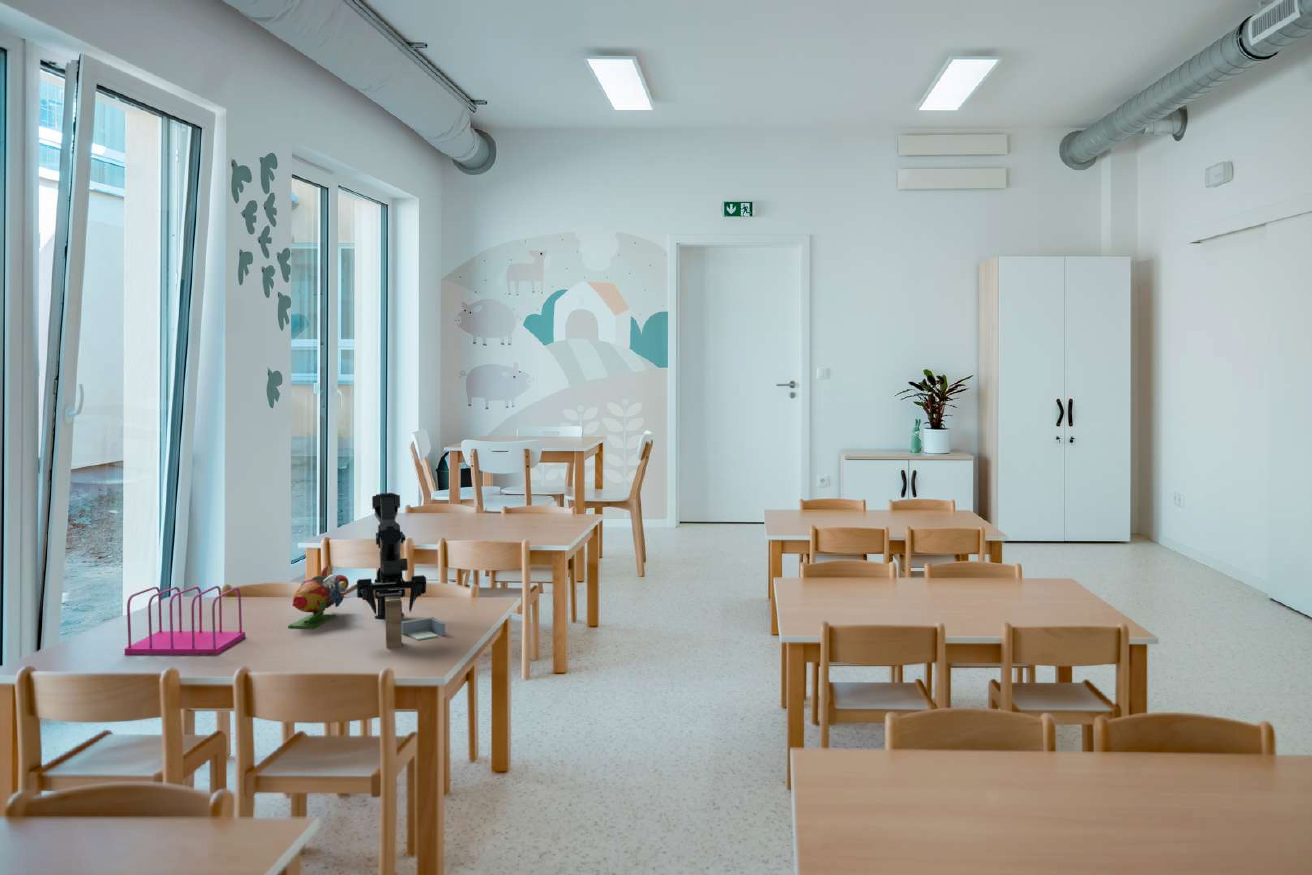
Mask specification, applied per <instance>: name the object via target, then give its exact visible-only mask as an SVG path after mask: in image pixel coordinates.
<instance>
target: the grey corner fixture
mask: <svg viewBox="0 0 1312 875" xmlns="http://www.w3.org/2000/svg"><path fill="white" fill-rule="evenodd" d="M401 629H402V636H403V635H404V636H405V635H407V636H409V637H410V638H412V639H414V640H416V641H422V640H427V639H435V638H438V637H439V636H440V637H443V636H446V623H445V622H443V621H441V620H440V619H437V618H436V617H435V616H431V617H426V618H419V619H413V620H412V619H411V620H406V621H401ZM438 635H439V636H438Z"/></svg>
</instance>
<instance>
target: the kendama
mask: <svg viewBox="0 0 1312 875" xmlns="http://www.w3.org/2000/svg"><path fill="white" fill-rule="evenodd" d="M336 576H337V577H338V578H339V586H343V587H344V588H345V590H346V591H347V589H348V588H349V585H350V584H349V580H348V579H349V578H347V576H345V575H343V574H336Z"/></svg>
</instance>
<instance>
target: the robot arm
mask: <svg viewBox="0 0 1312 875" xmlns="http://www.w3.org/2000/svg"><path fill="white" fill-rule="evenodd" d="M371 502H372V503H371V506H372V507H371V508H372V510H374V516H375V518H376V519H377V520H378V522H379V524H378V525H377V532H375V545H376V546H378V547H377V548H378V549H379V550H380V551H379V568H378V569H377V571H376V578H374V582H373V581H372V578H359V579H357V581H356V597H357V598H359V599H361V600H362V601H366V602H367V604H368V605H369V606H370V608H371V609H372V612H373V613H374V618H375V619H385V620H386V618H385V597H391V596H400V598H401V599H402V598H404V597H405V596H406V590H407V589H410V594H409V604H408V606H409V608H408V611H409V612H410V613H411V612H412V609H413V608H414V603H415V602H416V600H417V598H418V597H420V596H422V594H423V595H424V594H425V593H427V576H425V575H424V574H420V575H411V580H407V581H406V580H404V576H403V572H404V571H405V572H406V571H408V568H409V567H408V566H409V565H408V558H401V550H402V544H404V542H405V541H406V535H405V534H404V532H403V531H401V525H400V524H399V523H398V522H396V518H397V516H398V512H399V509H400V508H401V494H397V493H393V492H381V493H376V495H372V496H371ZM376 600H377V604H376ZM404 615H405V613H404V612H403V602H402V600H401V617H402V616H404Z"/></svg>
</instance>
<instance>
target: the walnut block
mask: <svg viewBox="0 0 1312 875" xmlns="http://www.w3.org/2000/svg"><path fill="white" fill-rule="evenodd" d="M401 599H402V597H401V598H400V596H391V597H385V618H386V619H385V645H386V649H393V648H402V647H403V644H402V643H403V642H402V641H403V640H402V638H403V635H402V629H401V622H402V616H401V601H402V600H401Z"/></svg>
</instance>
